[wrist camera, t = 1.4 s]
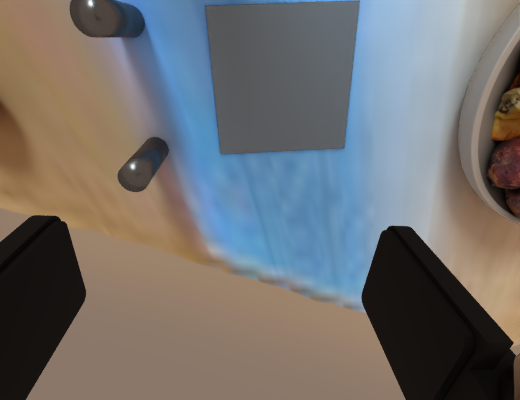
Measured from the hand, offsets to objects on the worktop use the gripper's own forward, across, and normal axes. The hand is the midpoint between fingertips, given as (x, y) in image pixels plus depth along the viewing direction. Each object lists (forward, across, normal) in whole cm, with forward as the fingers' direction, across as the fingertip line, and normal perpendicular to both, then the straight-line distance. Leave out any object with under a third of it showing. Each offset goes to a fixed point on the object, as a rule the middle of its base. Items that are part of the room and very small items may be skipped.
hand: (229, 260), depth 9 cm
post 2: (+25, +9, +5) cm, 27 cm away
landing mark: (+25, -4, -2) cm, 25 cm away
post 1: (+25, +10, -7) cm, 28 cm away
